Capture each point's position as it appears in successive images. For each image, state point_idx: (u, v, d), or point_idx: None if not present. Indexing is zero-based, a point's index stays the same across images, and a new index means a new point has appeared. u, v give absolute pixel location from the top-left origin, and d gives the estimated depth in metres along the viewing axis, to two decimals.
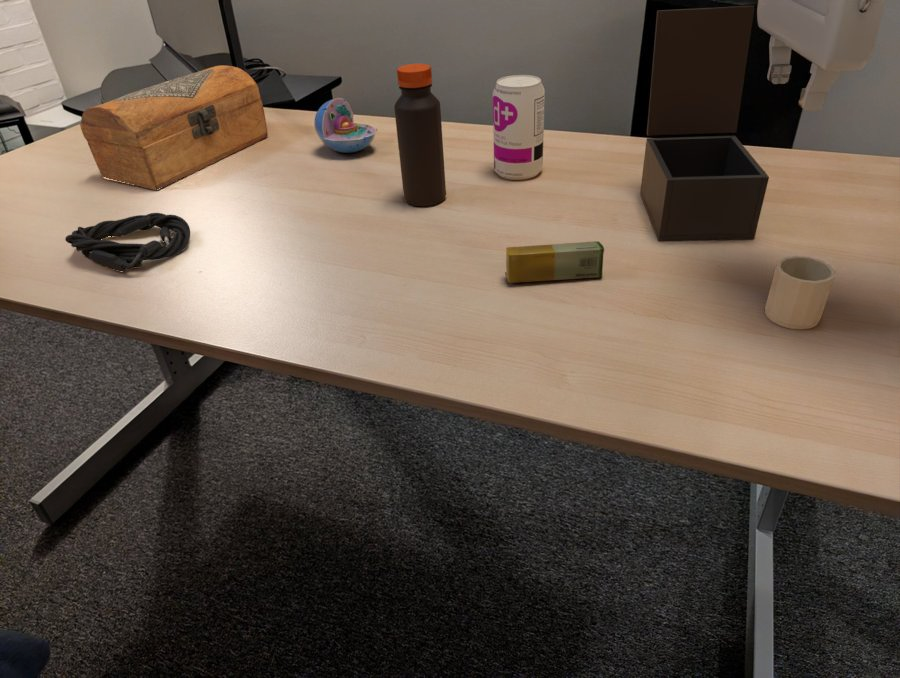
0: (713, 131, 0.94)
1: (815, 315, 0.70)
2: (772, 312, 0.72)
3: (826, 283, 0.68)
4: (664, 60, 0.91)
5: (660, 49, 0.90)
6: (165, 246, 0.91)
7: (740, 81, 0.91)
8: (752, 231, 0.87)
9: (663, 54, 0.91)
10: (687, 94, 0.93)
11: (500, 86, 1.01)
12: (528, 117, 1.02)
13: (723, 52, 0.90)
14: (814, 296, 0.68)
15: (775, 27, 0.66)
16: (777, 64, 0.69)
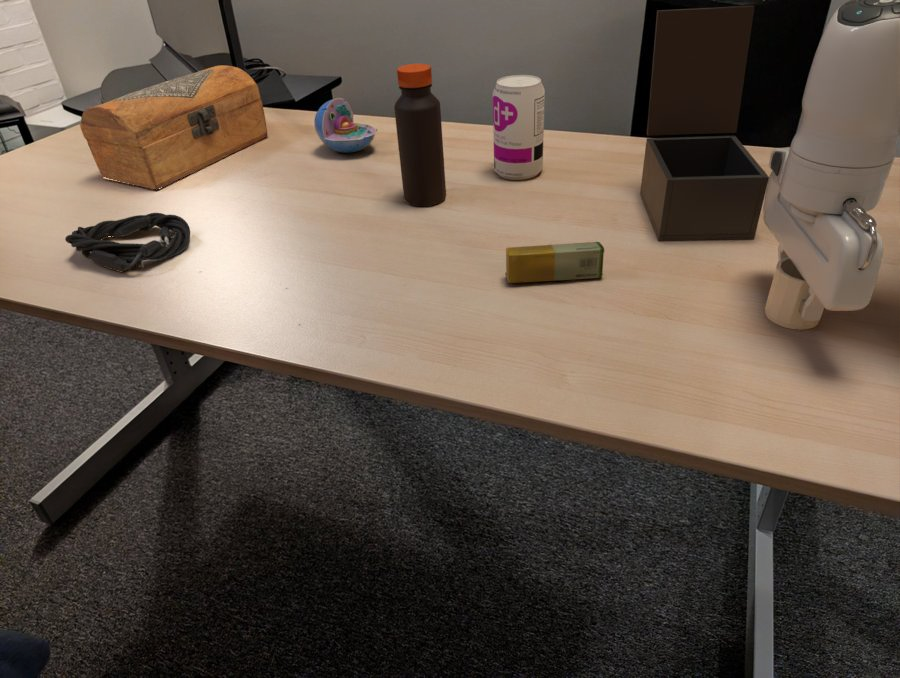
0: (713, 131, 0.94)
1: None
2: (772, 312, 0.72)
3: None
4: (664, 60, 0.91)
5: (660, 49, 0.90)
6: (165, 246, 0.91)
7: (740, 81, 0.91)
8: (752, 231, 0.87)
9: (663, 54, 0.91)
10: (687, 94, 0.93)
11: (500, 86, 1.01)
12: (528, 117, 1.02)
13: (723, 52, 0.90)
14: None
15: (780, 237, 0.71)
16: None
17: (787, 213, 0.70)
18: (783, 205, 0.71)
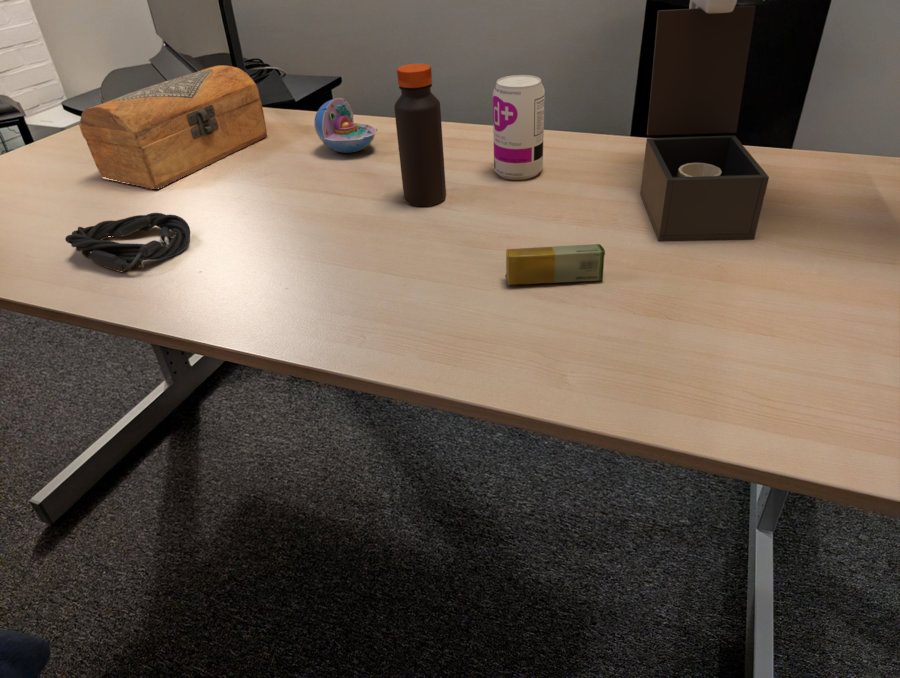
0: (713, 131, 0.94)
1: None
2: None
3: None
4: (664, 60, 0.91)
5: (661, 50, 0.90)
6: (165, 246, 0.91)
7: (740, 81, 0.91)
8: (752, 231, 0.87)
9: (663, 54, 0.90)
10: (687, 94, 0.92)
11: (500, 86, 1.01)
12: (528, 117, 1.02)
13: (724, 52, 0.90)
14: None
15: None
16: None
17: None
18: None
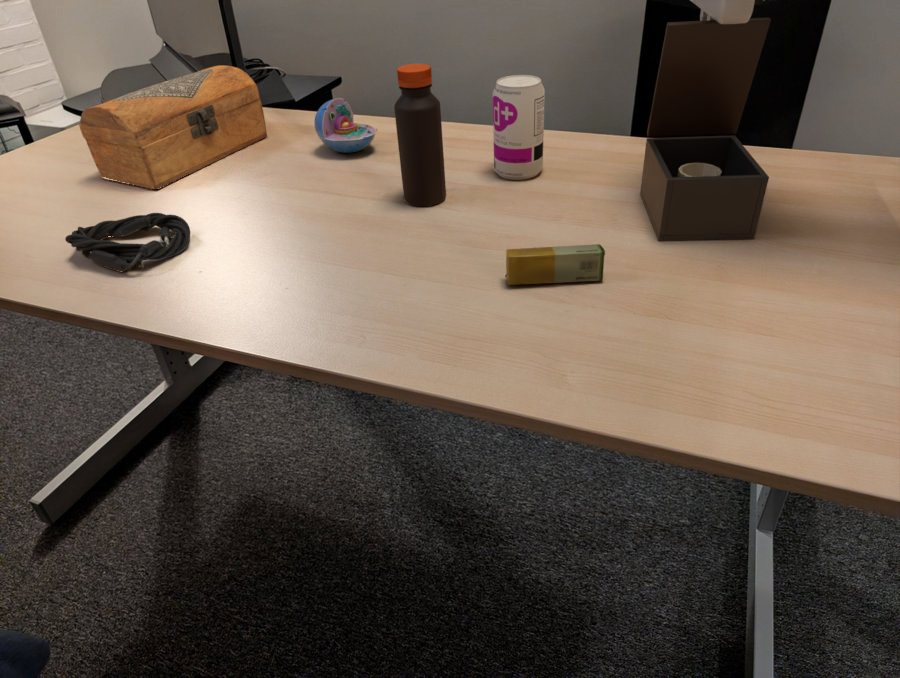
0: (713, 132, 0.94)
1: None
2: None
3: None
4: (670, 71, 0.88)
5: (667, 61, 0.87)
6: (165, 246, 0.91)
7: (746, 89, 0.89)
8: (752, 231, 0.87)
9: (669, 66, 0.87)
10: (690, 101, 0.91)
11: (500, 86, 1.01)
12: (528, 117, 1.02)
13: (732, 63, 0.86)
14: None
15: None
16: None
17: None
18: None
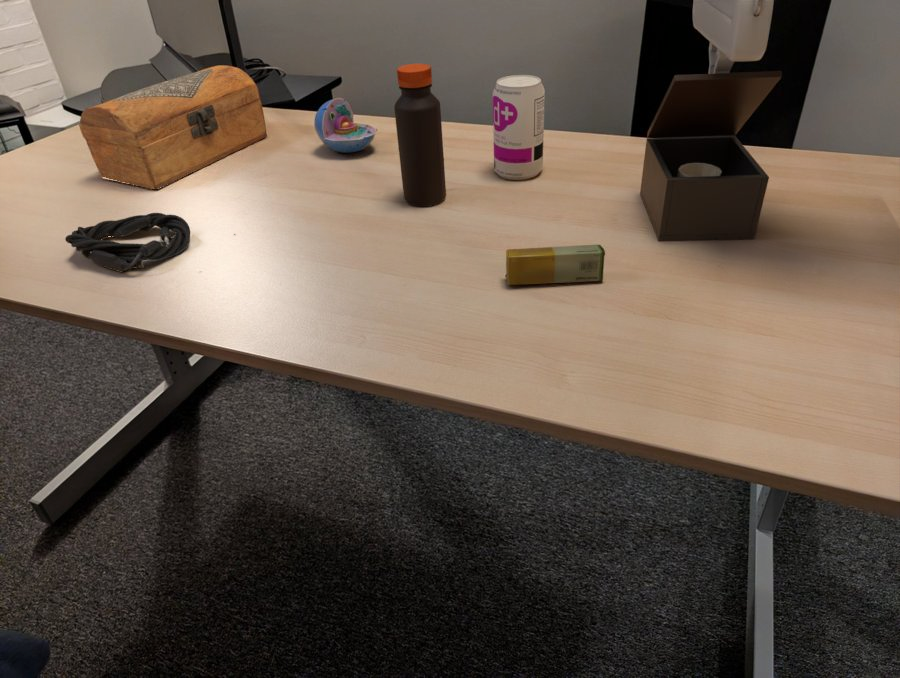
0: (713, 134, 0.95)
1: None
2: None
3: None
4: (674, 104, 0.86)
5: (671, 100, 0.84)
6: (165, 246, 0.91)
7: (749, 112, 0.88)
8: (752, 231, 0.87)
9: (674, 102, 0.85)
10: (692, 119, 0.90)
11: (500, 86, 1.01)
12: (528, 117, 1.02)
13: (738, 99, 0.84)
14: None
15: (703, 27, 0.83)
16: (715, 65, 0.83)
17: (707, 3, 0.81)
18: (705, 0, 0.83)
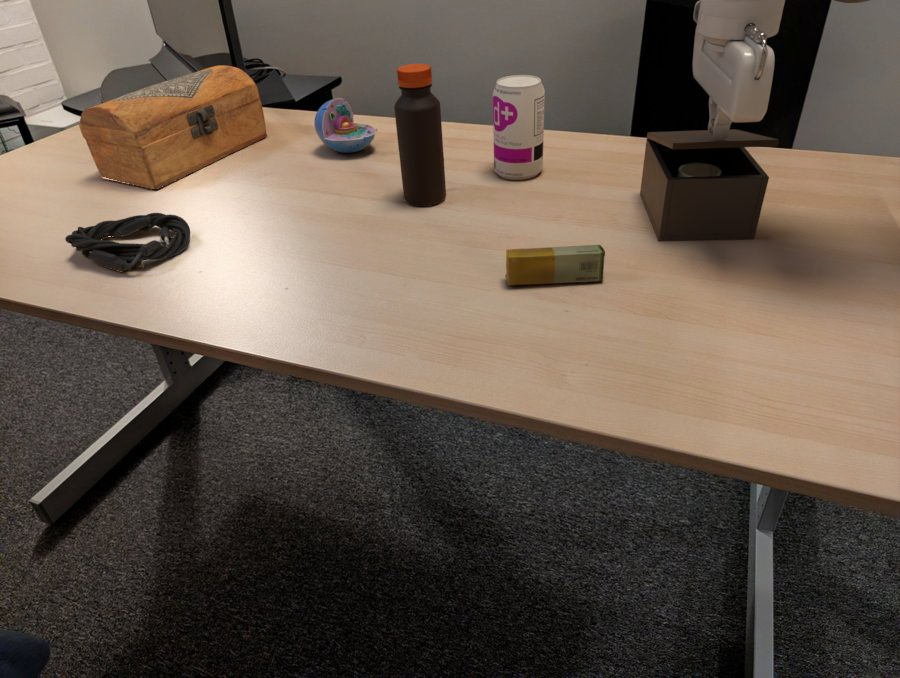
0: None
1: None
2: None
3: None
4: None
5: None
6: (165, 246, 0.91)
7: None
8: (752, 231, 0.87)
9: None
10: None
11: (500, 86, 1.01)
12: (528, 117, 1.02)
13: None
14: None
15: (703, 81, 0.83)
16: (715, 119, 0.83)
17: (707, 57, 0.81)
18: (705, 53, 0.83)
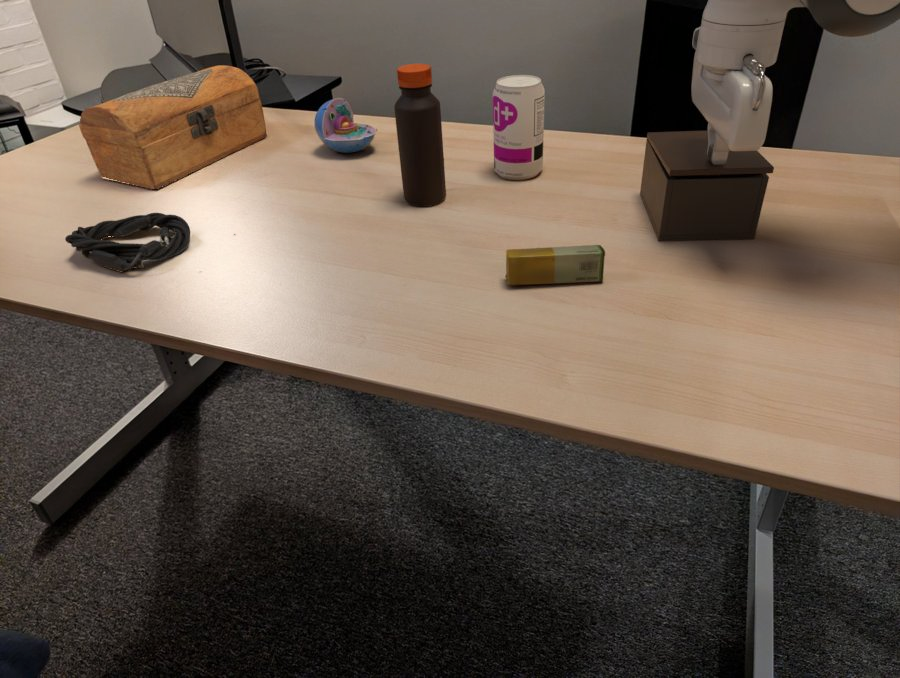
0: None
1: None
2: None
3: None
4: None
5: None
6: (165, 246, 0.91)
7: None
8: (752, 231, 0.87)
9: None
10: None
11: (500, 86, 1.01)
12: (528, 117, 1.02)
13: None
14: None
15: (702, 107, 0.83)
16: (714, 144, 0.83)
17: (706, 84, 0.82)
18: (704, 79, 0.83)
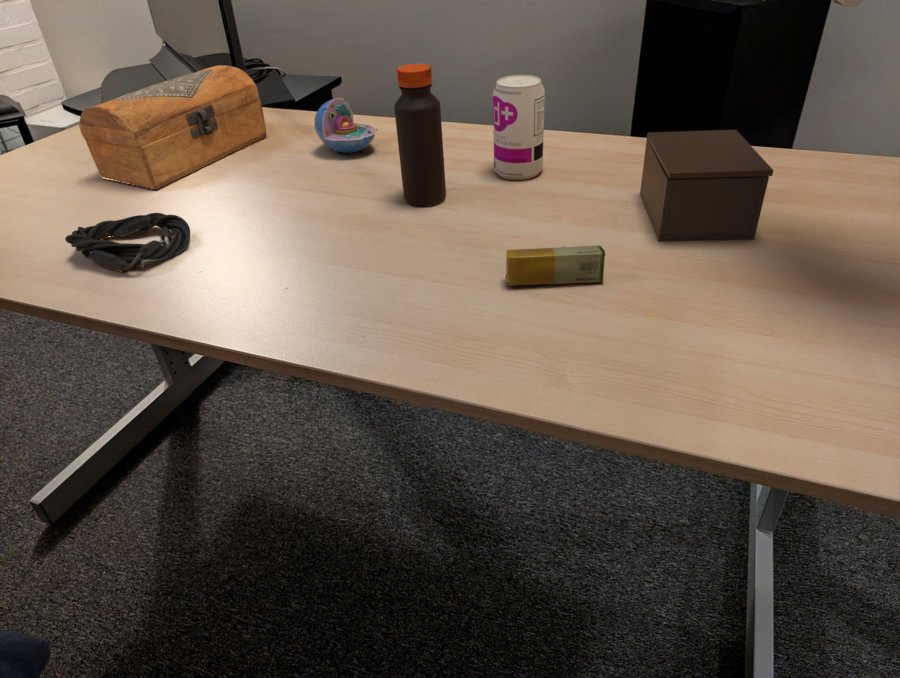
0: None
1: None
2: None
3: None
4: None
5: None
6: (165, 246, 0.91)
7: None
8: (752, 231, 0.87)
9: None
10: None
11: (500, 86, 1.01)
12: (528, 117, 1.02)
13: None
14: None
15: None
16: None
17: None
18: None
